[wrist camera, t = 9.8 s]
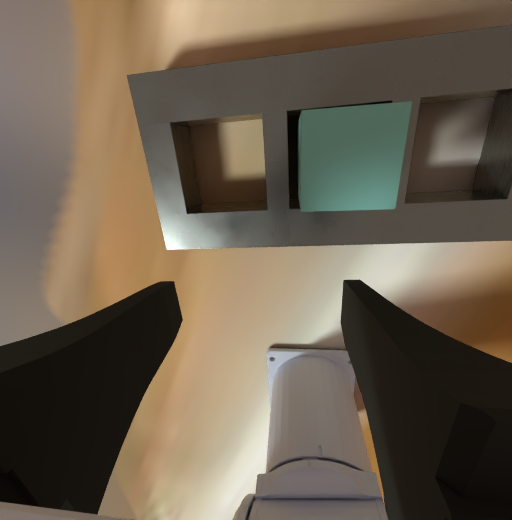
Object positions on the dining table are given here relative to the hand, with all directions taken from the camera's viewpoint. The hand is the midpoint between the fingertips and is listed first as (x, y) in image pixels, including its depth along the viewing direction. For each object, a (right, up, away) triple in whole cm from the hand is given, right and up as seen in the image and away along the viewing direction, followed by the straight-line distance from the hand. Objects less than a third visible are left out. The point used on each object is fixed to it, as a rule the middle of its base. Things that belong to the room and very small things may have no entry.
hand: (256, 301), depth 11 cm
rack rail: (+5, +8, +6) cm, 11 cm away
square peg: (+5, +9, +6) cm, 12 cm away
